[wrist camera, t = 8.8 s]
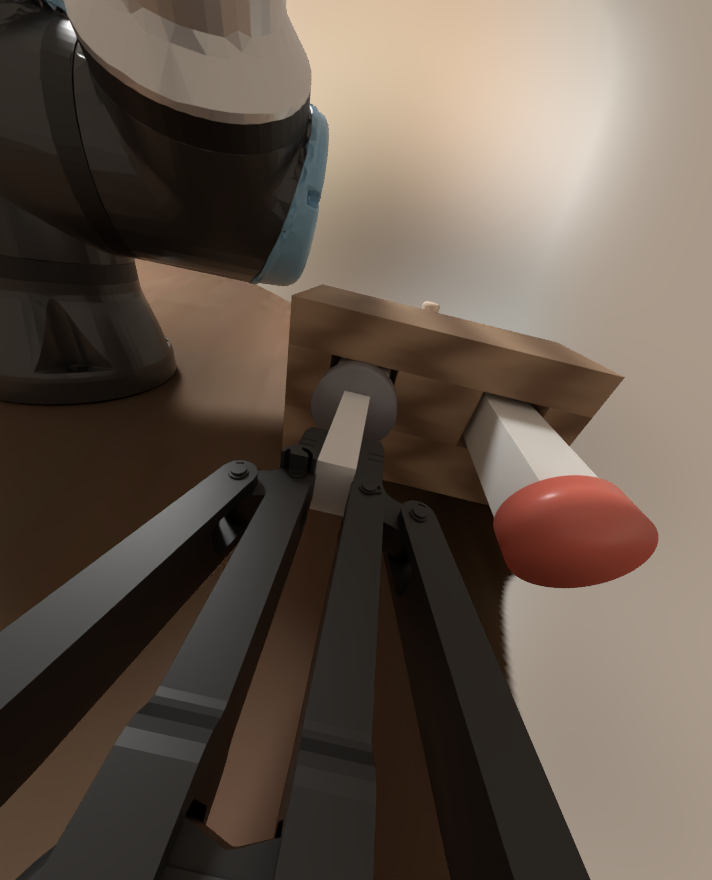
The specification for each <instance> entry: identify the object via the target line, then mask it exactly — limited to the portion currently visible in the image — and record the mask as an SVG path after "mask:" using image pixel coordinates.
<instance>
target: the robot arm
mask: <svg viewBox="0 0 712 880" xmlns="http://www.w3.org/2000/svg"><path fill="white" fill-rule="evenodd" d="M310 90H311V69H310V64H309V60H308V58H307V55H306V53H305V51H304V49H303V47H302V44H301V42H300V40H299V38H298V36H297V34H296V32H295V30H294V28H293V26H292V23H291V22H290V19H289V17H288V15H287V11H286V0H0V400H3V401H9V402H17V403H29V404H75V403H87V402H96V401H104V400H110V399H115V398H121V397H125V396H129V395H133V394H137V393H140V392H143V391H146V390H149V389H152V388H154V387H156V386H158V385H160V384H162V383H164V382H165V381H167V380H168V379H169V378H171V377H172V376H173V374H174V373H175V371H176V363H175V357H174V352H173V348H172V345H171V343H170V342H169V340H168V339H167V337H166V336H164V334H163V332H162V329H161V327H160V325H159V323H158V321H157V319H156V317H155V315H154V313H153V311H152V309H151V307H150V305H149V303H148V302H147V300H146V298H145V296H144V294H143V292H142V290H141V287H140V283H139V279H138V274H137V270H136V265H135V260H134V258H137V259H142V260H147V261H152V262H156V263H161V264H166V265H170V266H175V267H180V268H184V269H189V270H194V271H198V272H203V273H208V274H212V275H217V276H222V277H226V278H231V279H236V280H240V281H245V282H249V283H251V284H258V283H263V284H271V285H279V286H288V285H291V284H293V283H295V282H296V281H297V280H298V279H299V278H300V276H301V274H302V272H303V270H304V268H305V265H306V262H307V259H308V256H309V252H310V249H311V244H312V240H313V236H314V232H315V227H316V222H317V217H318V208H319V207H318V203H319V201H320V198H321V192H322V188H323V184H324V178H325V171H326V163H327V155H328V141H329V132H328V130H329V129H328V123H327V120H326V118H325V116H324V115H323V114H322V113H320V112H319V111H318V109H317V108H316V106H313V105H312V104H310ZM369 400H370V397H369V396H365V395H361V394H357V393H352V392H348V391H344V394H343V396H342V399H341V401H340V404H339V407H338V409H337V412H336V414H335V417H334V419H333V422H332V424H331V427H330V429H329V431H328V430H324V429H320V428H316V427H310V428H309V429H307V430H306V431H305V432H304V433H303V435H302V437H301V439H300V441H299V444H295V445H289V446H287V447H285V448H284V449H283V450H282V451H281V465H280V469H277V470H271V471H258V469H257V468H256V466H255V465H254V464H253V463H251V462H248V461H245V460H236V461H232V462H229V463H227V464H225V465H223V466H222V467H221V468H219V469H218V470H217V471H215V472H214V473H212V474H211V475H210V476H208V477H207V478H206V479H204V480H203V481H202V482H200V483H199V484H198V485H196V486H195V487H194V488H192V489H191V490H190V491H188V492H187V493H186V494H184V495H183V496H182V497H180V498H179V499H178V500H176V501H175V502H174V503H172V504H171V505H170V506H168V507H167V508H166V509H164V510H163V511H162V512H160V513H159V514H158V515H156V516H155V517H154V518H152V519H151V520H150V521H148V522H147V523H145V524H144V525H143V526H141V527H140V528H139V529H137V530H136V531H135V532H133V533H132V534H131V535H129V536H128V537H127V538H125V539H124V540H123V541H121V542H120V543H119V544H117V545H116V546H115V547H113V548H112V549H111V550H109V551H108V552H107V553H105V554H104V555H103V556H101V557H100V558H99V559H97V560H96V561H95V562H93V563H92V564H91V565H89V566H88V567H87V568H85V569H84V570H83V571H81V572H80V573H78V574H77V575H76V576H74V577H73V578H72V579H70V580H69V581H68V582H66V583H65V584H64V585H62V586H61V587H60V588H58V589H57V590H56V591H54V592H53V593H52V594H50V595H49V596H48V597H46V598H45V599H44V600H42V601H41V602H40V603H38V604H37V605H36V606H34V607H33V608H32V609H30V610H29V611H28V612H26V613H25V614H24V615H22V616H21V617H20V618H18V619H17V620H16V621H14V622H13V623H11V624H10V625H9V626H7V627H6V628H5V629H3V630H2V631H1V632H0V807H1V806H2V805H3V804H4V803H5V802H6V801H7V800H8V799H9V798H10V797H11V796H12V795H13V794H14V793H15V792H16V791H17V789H18V788H19V787H20V786H21V785H22V784H23V783H24V782H25V781H26V780H27V779H28V778H29V777H30V776H31V775H32V774H33V772H34V771H35V770H36V769H37V768H38V767H39V766H40V765H41V764H42V763H43V762H44V760H45V759H46V758H47V757H48V756H49V755H50V754H51V753H52V751H53V750H54V749H55V748H56V747H57V746H58V745H59V744H60V742H61V741H62V740H63V739H64V738H65V737H66V736H67V735H68V733H69V732H70V731H71V730H72V729H73V728H74V727H75V726H76V725H77V723H78V722H79V721H80V720H81V719H82V718H83V717H84V716H85V714H86V713H87V712H88V711H89V710H90V709H91V708H92V707H93V705H94V704H95V703H96V702H97V701H98V700H99V699H100V698H101V696H102V695H103V694H104V693H105V692H106V691H107V690H108V689H109V687H110V686H111V685H112V684H113V683H114V682H115V681H116V680H117V678H118V677H119V676H120V675H121V674H122V673H123V672H124V671H125V670H126V668H127V667H128V666H129V665H130V664H131V663H132V662H133V661H134V659H135V658H136V657H137V656H138V655H139V654H140V653H141V652H142V650H143V649H144V648H145V647H146V646H147V645H148V644H149V643H150V641H151V640H152V639H153V638H154V637H155V636H156V635H157V634H158V632H159V631H160V630H161V629H162V628H163V627H164V626H165V625H166V623H167V622H168V621H169V620H170V619H171V618H172V617H173V616H174V615H175V613H176V612H177V611H178V610H179V609H180V608H181V607H182V606H183V604H184V603H185V602H186V601H187V600H188V599H189V598H190V597H191V595H192V594H193V593H194V592H195V591H196V590H197V589H198V588H199V586H200V585H201V584H202V583H203V582H204V581H205V580H206V579H207V577H208V576H209V575H210V574H211V573H212V572H213V571H214V570H215V568H216V567H217V566H218V565H219V564H220V563H221V562H222V561H223V559H224V558H225V557H226V556H227V555H228V554H229V553H230V552H231V551H232V549H233V548H234V547H235V546H236V545H237V544H238V545H237V547H236V549H235V551H234V552H233V554H232V556H231V558H230V560H229V562H228V563H227V565H226V567H225V569H224V571H223V572H222V574H221V576H220V578H219V580H218V581H217V583H216V585H215V587H214V589H213V590H212V592H211V594H210V596H209V598H208V600H207V601H206V603H205V605H204V607H203V609H202V610H201V612H200V614H199V616H198V618H197V619H196V621H195V623H194V625H193V627H192V629H191V630H190V632H189V634H188V636H187V638H186V639H185V641H184V643H183V645H182V647H181V648H180V650H179V652H178V654H177V656H176V658H175V659H174V661H173V663H172V665H171V667H170V668H169V670H168V672H167V674H166V676H165V677H164V679H163V681H162V683H161V685H160V686H159V688H158V690H157V691H156V693H155V695H154V696H153V697H152V699H151V700H150V701H149V702H148V703H147V704H146V705H145V706H144V707H143V708H141V709H140V710H139V711H138V712H137V713H136V714H135V715H134V717H133V718H132V719H131V720H130V722H129V723H128V724H127V726H126V727H125V729H124V730H123V732H122V733H121V735H120V736H119V738H118V740H117V741H116V743H115V744H114V746H113V748H112V749H111V751H110V753H109V755H108V756H107V758H106V760H105V762H104V763H103V765H102V767H101V768H100V770H99V772H98V774H97V775H96V777H95V779H94V781H93V782H92V784H91V786H90V787H89V789H88V791H87V793H86V794H85V796H84V798H83V800H82V801H81V803H80V805H79V806H78V808H77V810H76V812H75V813H74V815H73V817H72V819H71V820H70V822H69V824H68V825H67V827H66V829H65V831H64V832H63V834H62V836H61V838H60V839H59V841H58V843H57V844H56V845H55V846H54V847H53V848H51V849H50V850H49V851H47V852H46V853H45V854H44V855H42V856H41V857H40V858H39V859H38V860H37V861H35V862H34V863H33V864H32V865H31V866H30V867H29V868H27V869H26V870H25V871H24V872H23V873H22V874H21V875H20V876H19V877H18V878H17V879H16V880H373V873H374V847H375V821H376V769H375V763H374V758H373V754H372V725H373V706H374V687H375V668H376V649H377V631H378V612H379V593H380V574H381V555H382V551H383V555H384V560H385V565H386V570H387V575H388V579H389V584H390V589H391V594H392V599H393V604H394V608H395V613H396V618H397V623H398V628H399V633H400V638H401V642H402V647H403V652H404V657H405V662H406V667H407V671H408V676H409V681H410V686H411V691H412V696H413V700H414V705H415V710H416V715H417V720H418V725H419V730H420V734H421V739H422V744H423V749H424V754H425V759H426V763H427V768H428V773H429V778H430V783H431V788H432V792H433V797H434V802H435V807H436V812H437V817H438V822H439V826H440V831H441V836H442V841H443V846H444V851H445V855H446V860H447V864H448V868H449V873H450V877H451V880H590V878H589V875H588V873H587V871H586V868H585V866H584V864H583V861H582V859H581V857H580V854H579V852H578V849H577V847H576V845H575V843H574V840H573V838H572V836H571V833H570V831H569V828H568V826H567V824H566V821H565V819H564V817H563V814H562V812H561V809H560V807H559V805H558V803H557V800H556V798H555V795H554V793H553V791H552V788H551V786H550V784H549V781H548V779H547V777H546V774H545V772H544V769H543V767H542V765H541V762H540V760H539V758H538V755H537V753H536V751H535V748H534V746H533V744H532V741H531V739H530V737H529V734H528V732H527V729H526V727H525V725H524V722H523V720H522V718H521V715H520V713H519V711H518V708H517V706H516V704H515V701H514V699H513V697H512V694H511V692H510V689H509V687H508V685H507V682H506V680H505V678H504V675H503V673H502V671H501V668H500V666H499V664H498V661H497V659H496V657H495V654H494V652H493V649H492V647H491V645H490V642H489V640H488V638H487V635H486V633H485V631H484V628H483V626H482V624H481V621H480V619H479V617H478V614H477V612H476V609H475V607H474V605H473V602H472V600H471V598H470V595H469V593H468V591H467V588H466V586H465V584H464V581H463V579H462V577H461V574H460V572H459V569H458V567H457V565H456V562H455V560H454V558H453V555H452V553H451V551H450V548H449V546H448V544H447V541H446V539H445V537H444V534H443V532H442V529H441V527H440V525H439V522H438V520H437V518H436V515H435V514H434V512H433V510H432V509H431V508H430V507H429V506H427V505H426V504H424V503H422V502H420V501H415V500H412V501H407V502H405V503H404V504H402V503H400V502H398V501H396V500H394V499H392V498H391V497H390V496H389V495H388V494H387V493H386V492H385V491H384V487H383V468H384V452H385V449H384V447H383V445H382V444H381V442H377V441H373V440H368V439H364V438H362V437H363V431H364V426H365V421H366V416H367V411H368V405H369ZM309 507H310V509H313V510H317V511H322V512H326V513H330V514H334V515H338V516H343V519H342V523H341V527H340V531H339V534H338V541H337V546H336V550H335V555H334V560H333V565H332V569H331V574H330V579H329V583H328V588H327V593H326V598H325V602H324V607H323V612H322V616H321V621H320V626H319V631H318V635H317V640H316V645H315V649H314V654H313V659H312V664H311V668H310V673H309V678H308V682H307V687H306V692H305V697H304V701H303V706H302V711H301V715H300V720H299V725H298V730H297V734H296V739H295V744H294V748H293V753H292V757H291V762H290V766H289V770H288V774H287V778H286V783H285V787H284V792H283V796H282V801H281V806H280V810H279V815H278V820H277V824H276V829H275V834H274V838H273V839H269V840H265V841H261V842H257V843H252V844H248V845H244V846H239V847H233V846H231V845H229V844H228V843H227V842H226V841H225V840H223V839H222V838H221V837H220V836H218V835H217V834H216V833H215V832H214V831H212V830H211V829H210V828H209V827H208V826H206V822H207V819H208V816H209V813H210V810H211V807H212V804H213V801H214V798H215V795H216V792H217V789H218V786H219V783H220V780H221V777H222V774H223V770H224V767H225V763H226V760H227V755H228V751H229V747H230V744H231V740H232V737H233V734H234V731H235V728H236V725H237V722H238V719H239V716H240V713H241V710H242V707H243V704H244V701H245V699H246V696H247V693H248V690H249V687H250V684H251V681H252V678H253V675H254V672H255V669H256V666H257V663H258V660H259V657H260V655H261V652H262V649H263V646H264V643H265V640H266V637H267V634H268V631H269V628H270V625H271V622H272V619H273V616H274V614H275V611H276V608H277V605H278V602H279V599H280V596H281V593H282V590H283V587H284V584H285V581H286V578H287V575H288V572H289V570H290V567H291V564H292V561H293V558H294V555H295V552H296V549H297V546H298V543H299V540H300V537H301V534H302V531H303V529H304V526H305V523H306V520H307V514H308V510H309Z"/></svg>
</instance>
